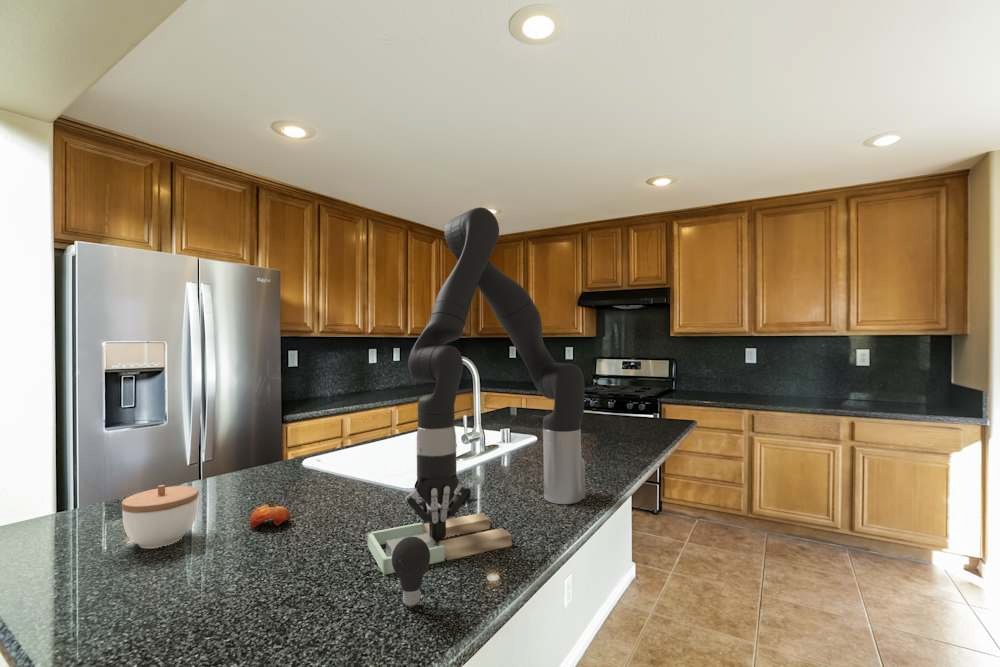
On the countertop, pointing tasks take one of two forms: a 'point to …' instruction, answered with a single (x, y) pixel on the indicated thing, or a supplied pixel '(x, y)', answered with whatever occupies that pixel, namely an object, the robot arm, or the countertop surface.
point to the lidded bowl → (160, 515)
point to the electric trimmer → (424, 507)
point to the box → (394, 533)
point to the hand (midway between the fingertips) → (437, 540)
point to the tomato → (269, 514)
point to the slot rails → (471, 536)
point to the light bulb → (411, 567)
